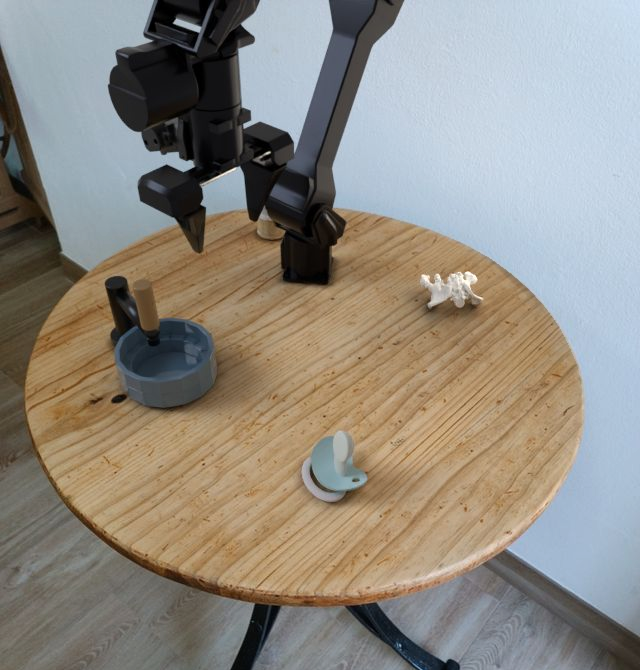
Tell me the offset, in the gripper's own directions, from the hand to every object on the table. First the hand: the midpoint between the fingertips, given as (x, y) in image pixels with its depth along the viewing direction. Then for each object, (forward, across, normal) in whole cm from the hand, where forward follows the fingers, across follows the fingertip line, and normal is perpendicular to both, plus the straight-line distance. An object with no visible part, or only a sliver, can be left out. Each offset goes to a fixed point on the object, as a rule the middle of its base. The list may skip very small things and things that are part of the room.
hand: (226, 235), depth 81 cm
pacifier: (+12, +13, +27) cm, 32 cm away
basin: (+12, +13, +2) cm, 18 cm away
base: (+12, +12, -6) cm, 18 cm away
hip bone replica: (+12, -22, +20) cm, 32 cm away
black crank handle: (+11, +13, -2) cm, 17 cm away
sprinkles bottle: (+12, -18, -10) cm, 24 cm away
